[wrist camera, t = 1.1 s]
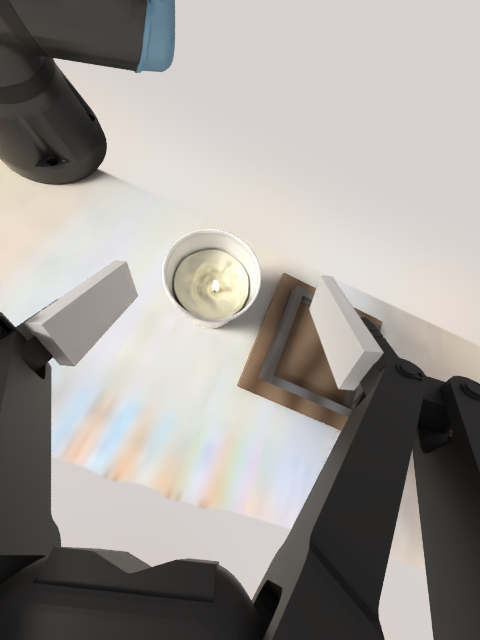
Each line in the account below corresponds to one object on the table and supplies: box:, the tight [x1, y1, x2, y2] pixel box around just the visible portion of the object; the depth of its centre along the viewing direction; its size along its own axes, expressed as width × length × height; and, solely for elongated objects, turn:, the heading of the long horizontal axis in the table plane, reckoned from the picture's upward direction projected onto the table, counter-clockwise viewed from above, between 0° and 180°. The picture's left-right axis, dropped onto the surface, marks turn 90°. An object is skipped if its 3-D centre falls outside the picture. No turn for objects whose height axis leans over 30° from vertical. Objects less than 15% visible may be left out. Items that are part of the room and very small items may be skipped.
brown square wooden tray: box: [237, 273, 382, 431], centre depth 31 cm, size 20×20×4 cm
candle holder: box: [162, 229, 261, 329], centre depth 25 cm, size 10×10×12 cm
